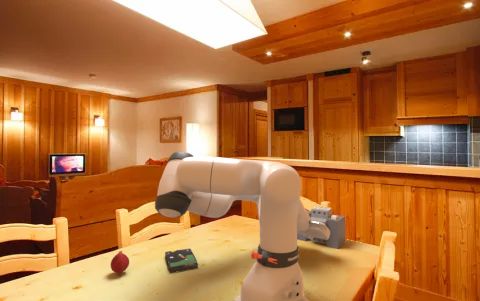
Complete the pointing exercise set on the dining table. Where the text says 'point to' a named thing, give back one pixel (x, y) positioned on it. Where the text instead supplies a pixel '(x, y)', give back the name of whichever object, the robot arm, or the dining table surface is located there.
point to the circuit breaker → (320, 218)
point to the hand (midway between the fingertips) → (310, 237)
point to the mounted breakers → (332, 231)
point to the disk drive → (180, 260)
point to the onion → (119, 263)
